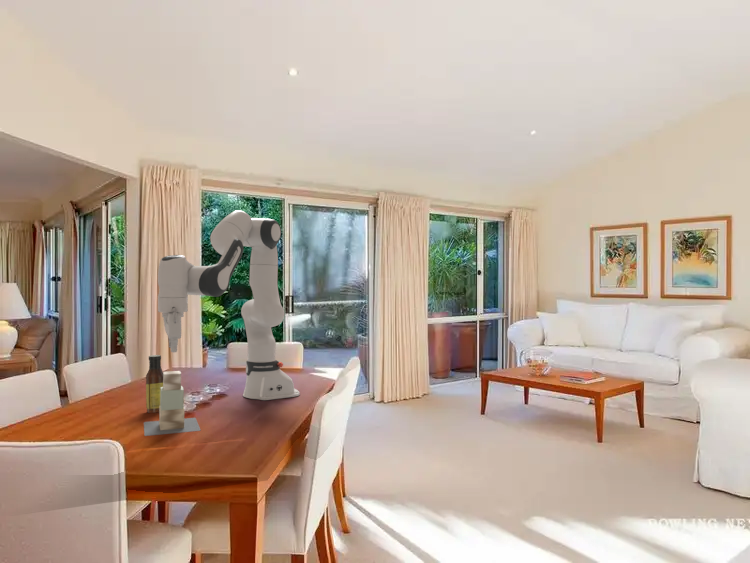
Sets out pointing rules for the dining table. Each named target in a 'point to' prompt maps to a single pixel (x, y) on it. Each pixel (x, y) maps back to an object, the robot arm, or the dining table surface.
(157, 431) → the slate mat
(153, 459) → the dining table surface
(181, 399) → the sage block
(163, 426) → the birch block
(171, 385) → the cream cube
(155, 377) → the sauce bottle
